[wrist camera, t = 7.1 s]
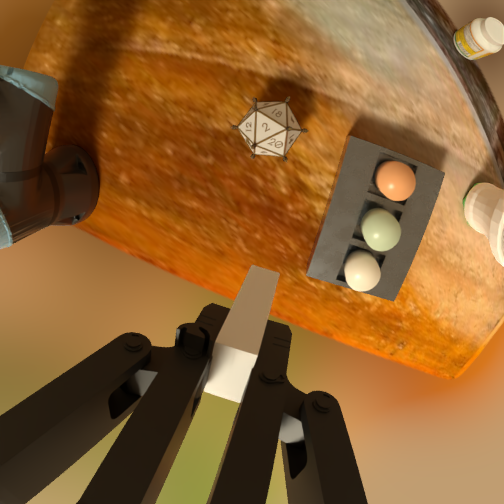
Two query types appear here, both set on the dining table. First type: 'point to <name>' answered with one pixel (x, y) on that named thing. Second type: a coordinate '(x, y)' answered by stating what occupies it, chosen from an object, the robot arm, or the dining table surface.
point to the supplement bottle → (479, 38)
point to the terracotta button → (395, 180)
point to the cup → (487, 215)
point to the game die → (270, 128)
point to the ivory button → (361, 270)
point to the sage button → (380, 229)
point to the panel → (358, 204)
